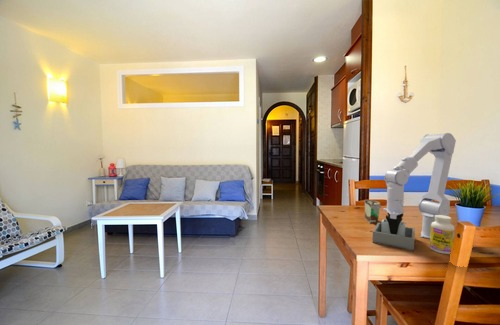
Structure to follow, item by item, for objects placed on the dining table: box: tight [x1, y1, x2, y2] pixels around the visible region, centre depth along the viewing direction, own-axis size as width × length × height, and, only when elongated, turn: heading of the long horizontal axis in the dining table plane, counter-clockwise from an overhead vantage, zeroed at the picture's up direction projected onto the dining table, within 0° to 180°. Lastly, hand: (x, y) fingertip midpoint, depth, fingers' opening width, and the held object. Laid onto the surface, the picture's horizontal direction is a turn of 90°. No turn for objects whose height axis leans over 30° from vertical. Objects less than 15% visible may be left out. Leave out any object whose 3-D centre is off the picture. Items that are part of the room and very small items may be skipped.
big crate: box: [372, 222, 416, 252], centre depth 95 cm, size 14×15×4 cm
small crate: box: [381, 218, 406, 237], centre depth 95 cm, size 8×5×6 cm, turn 54°
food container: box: [363, 199, 382, 225], centre depth 121 cm, size 12×6×10 cm, turn 168°
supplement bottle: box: [429, 215, 455, 255], centre depth 85 cm, size 7×7×13 cm
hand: (394, 232), depth 95 cm, fingers closed on small crate, 4 cm apart
